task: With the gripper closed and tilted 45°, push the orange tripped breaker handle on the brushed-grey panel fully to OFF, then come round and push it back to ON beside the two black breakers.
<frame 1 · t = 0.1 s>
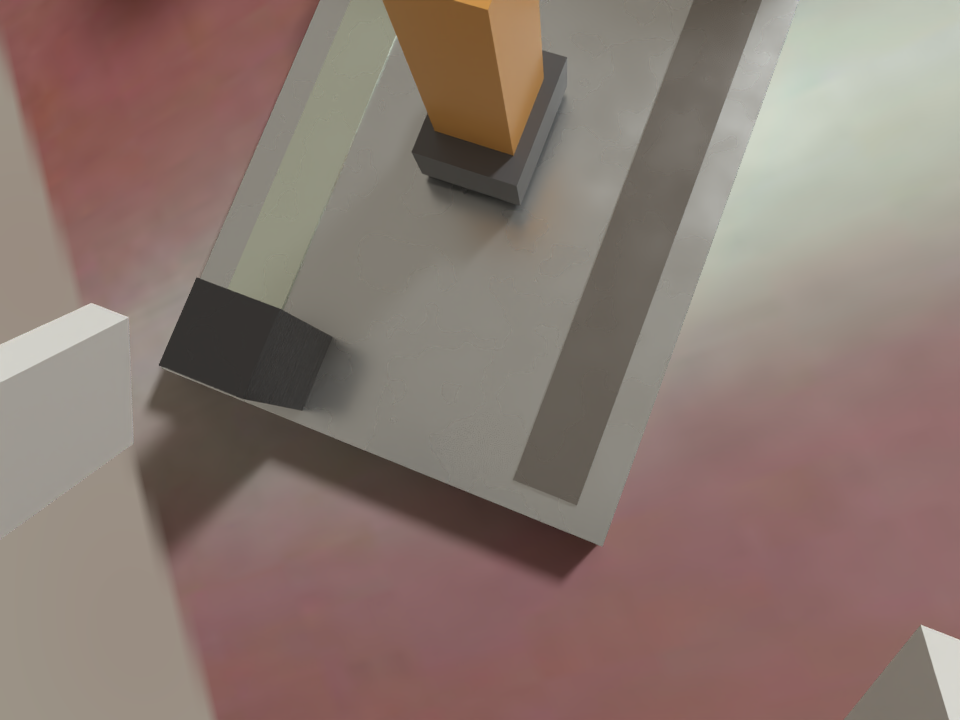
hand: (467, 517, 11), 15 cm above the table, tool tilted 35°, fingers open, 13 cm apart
tripped breaker: (478, 55, 22), point 7 cm above the table, slide at 0.0 cm
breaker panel: (499, 151, 29), on the table
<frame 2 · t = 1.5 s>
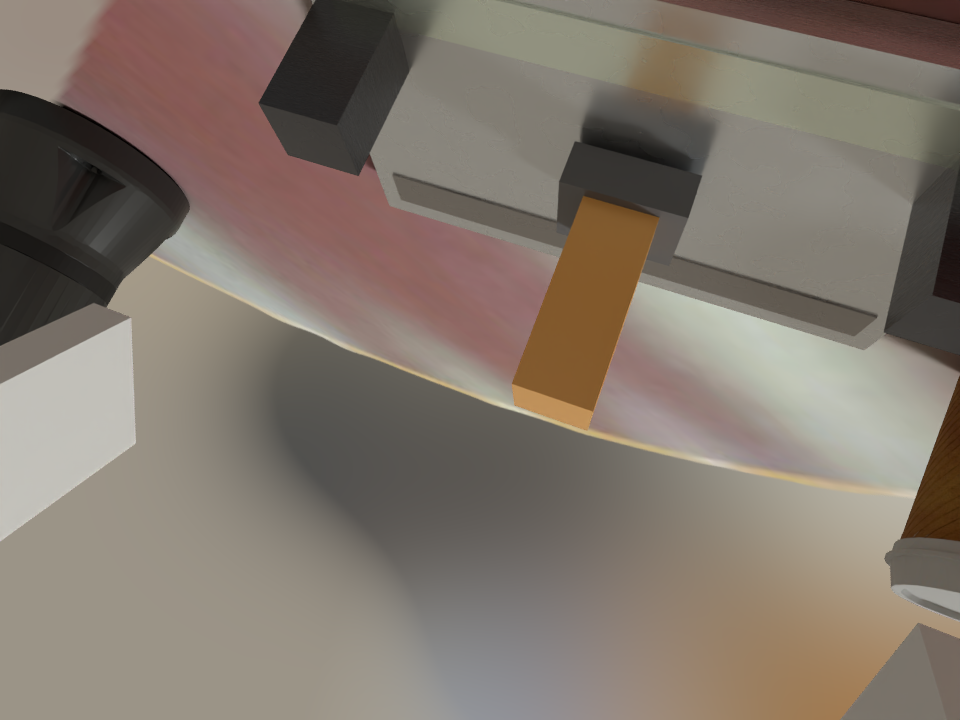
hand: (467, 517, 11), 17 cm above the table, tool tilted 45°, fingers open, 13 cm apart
tripped breaker: (593, 292, 27), point 7 cm above the table, slide at 0.0 cm
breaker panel: (644, 148, 29), on the table
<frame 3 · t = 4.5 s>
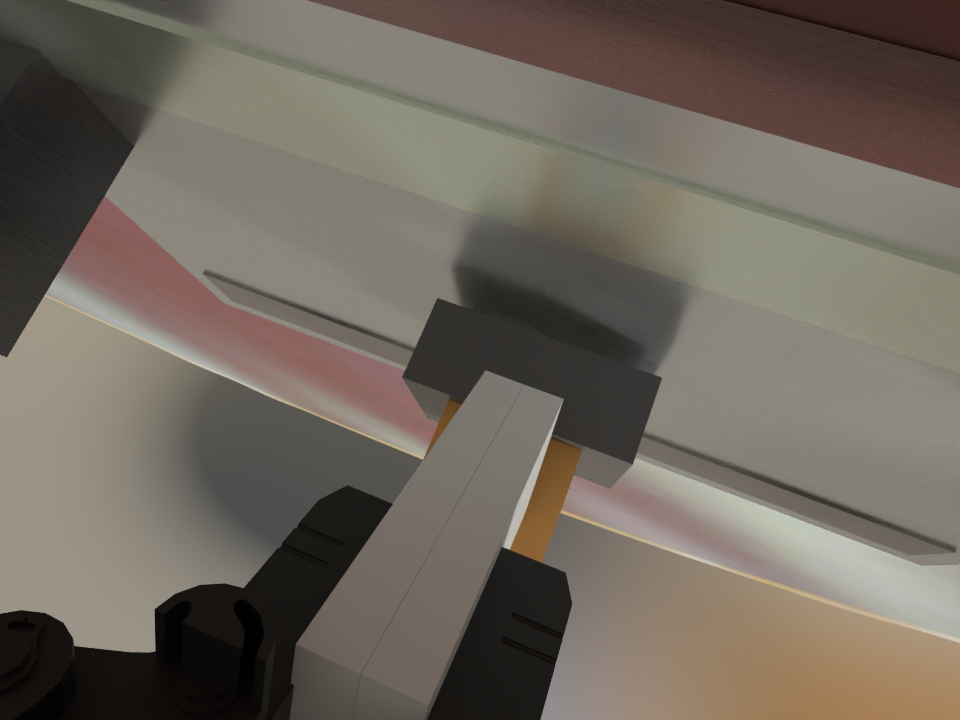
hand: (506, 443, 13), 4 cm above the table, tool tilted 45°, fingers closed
tripped breaker: (465, 566, 15), point 7 cm above the table, slide at -0.5 cm, touching gripper
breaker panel: (573, 285, 17), on the table
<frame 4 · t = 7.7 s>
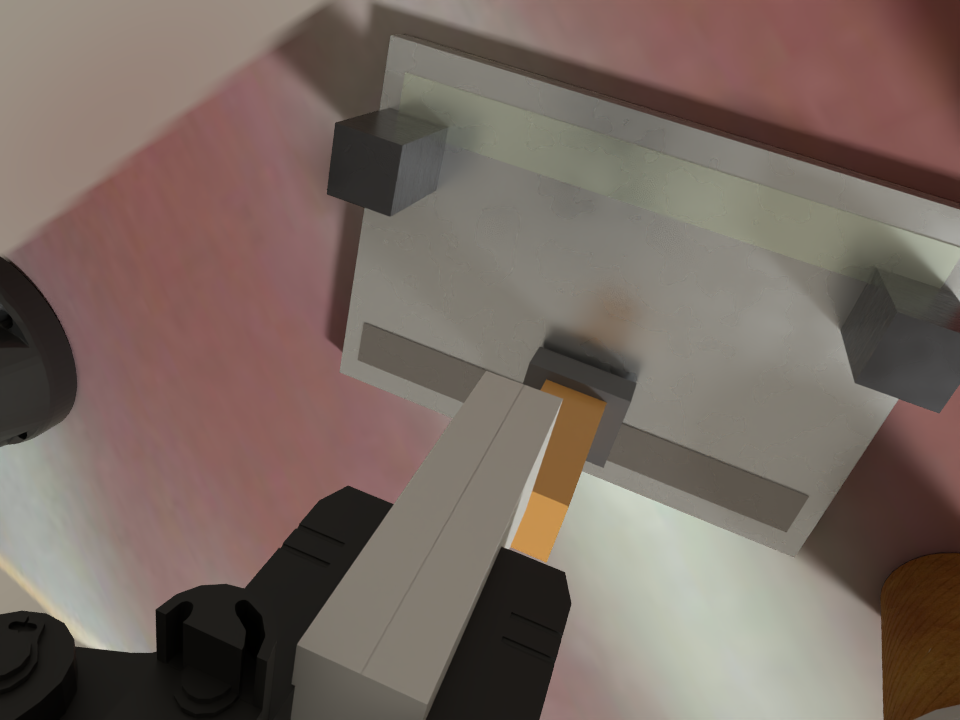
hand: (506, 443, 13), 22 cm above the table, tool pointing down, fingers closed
disposable coffee cup: (950, 599, 35), on the table
tripped breaker: (551, 450, 31), point 7 cm above the table, slide at -4.7 cm
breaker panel: (611, 302, 34), on the table
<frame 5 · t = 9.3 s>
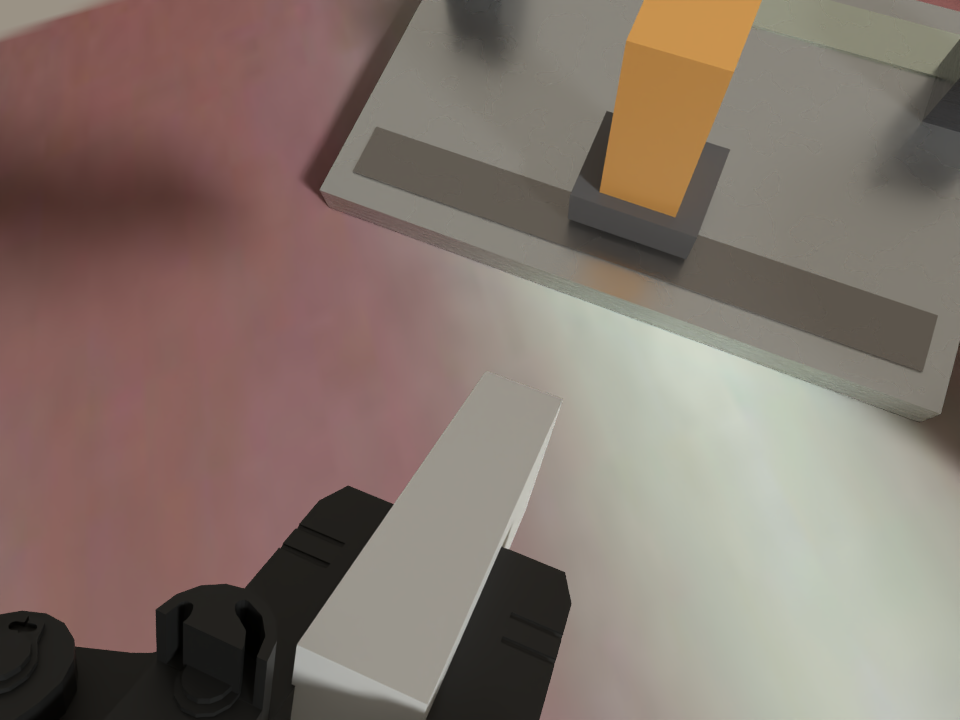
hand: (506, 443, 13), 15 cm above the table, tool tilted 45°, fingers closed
tripped breaker: (664, 123, 24), point 7 cm above the table, slide at -4.7 cm
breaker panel: (671, 132, 32), on the table
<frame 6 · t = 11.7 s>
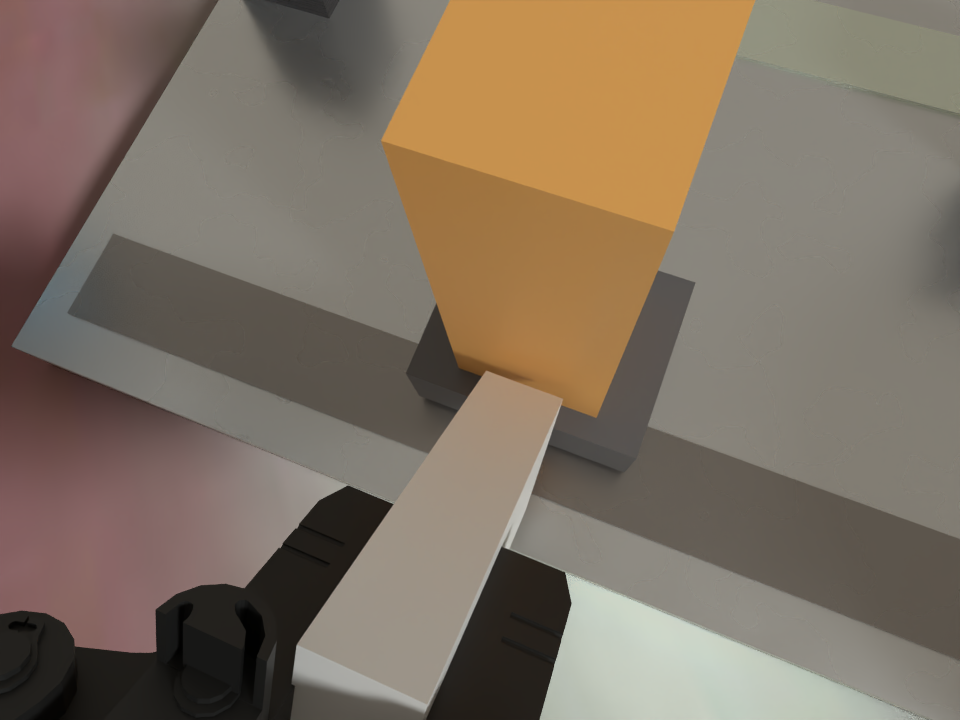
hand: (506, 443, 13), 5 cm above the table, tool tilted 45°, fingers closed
tripped breaker: (556, 266, 12), point 7 cm above the table, slide at -4.5 cm, touching gripper
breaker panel: (603, 228, 20), on the table
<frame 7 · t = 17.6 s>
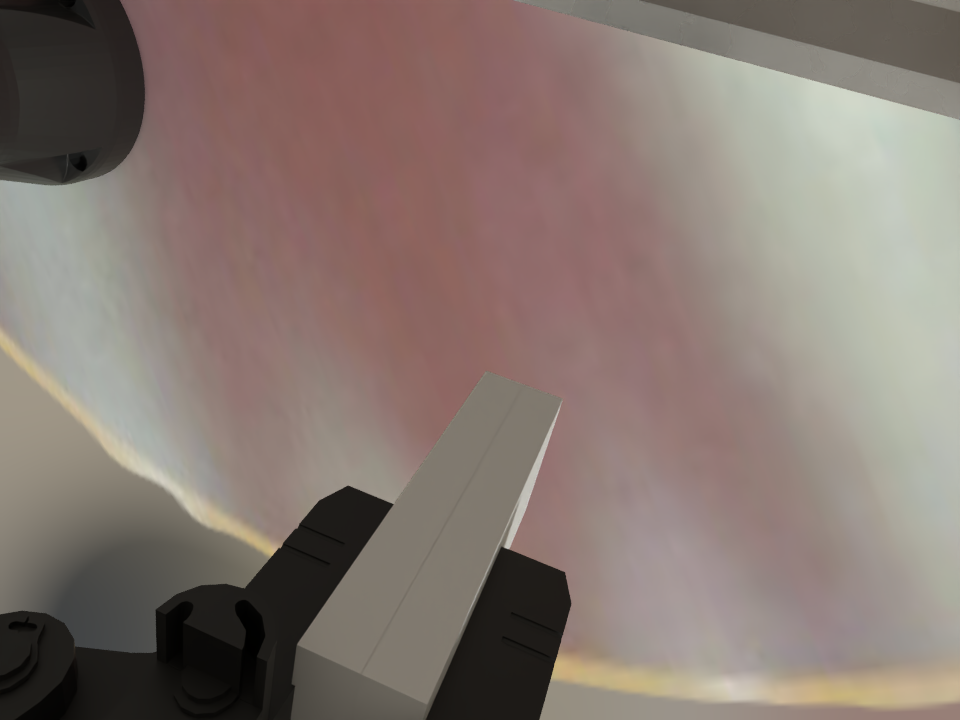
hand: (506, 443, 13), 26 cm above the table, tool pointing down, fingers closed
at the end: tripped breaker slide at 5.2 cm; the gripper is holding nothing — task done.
